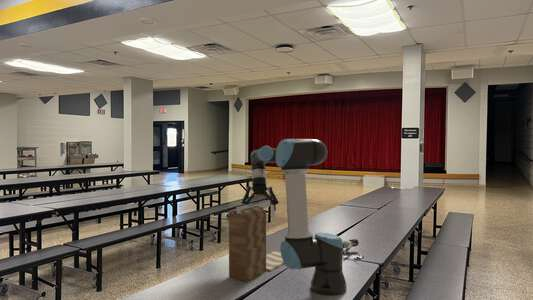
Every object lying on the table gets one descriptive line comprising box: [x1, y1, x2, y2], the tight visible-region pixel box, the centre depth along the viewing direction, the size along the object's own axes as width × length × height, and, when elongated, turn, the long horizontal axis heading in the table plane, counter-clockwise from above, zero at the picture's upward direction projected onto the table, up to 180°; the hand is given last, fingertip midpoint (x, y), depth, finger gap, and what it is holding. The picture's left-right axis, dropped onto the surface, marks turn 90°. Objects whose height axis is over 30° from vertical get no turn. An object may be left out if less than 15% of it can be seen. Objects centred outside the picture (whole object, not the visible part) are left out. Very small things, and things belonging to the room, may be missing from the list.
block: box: [235, 199, 271, 214], centre depth 177 cm, size 24×3×3 cm, turn 146°
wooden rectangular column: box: [228, 206, 267, 283], centre depth 173 cm, size 16×10×32 cm, turn 146°
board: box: [266, 250, 285, 272], centre depth 192 cm, size 26×14×1 cm, turn 146°
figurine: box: [342, 238, 360, 256], centre depth 205 cm, size 23×7×30 cm
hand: (261, 217), depth 191 cm, fingers open, 13 cm apart
